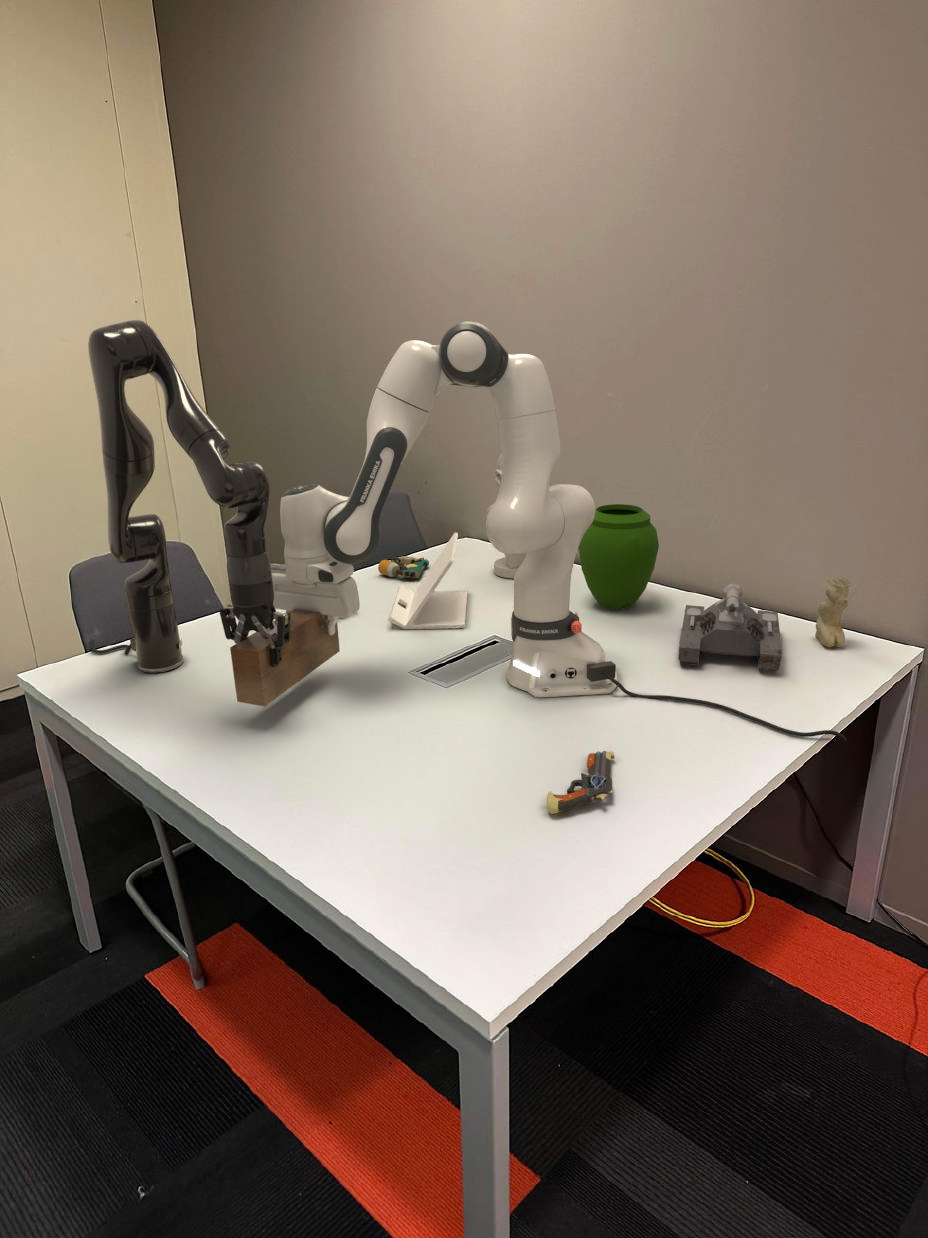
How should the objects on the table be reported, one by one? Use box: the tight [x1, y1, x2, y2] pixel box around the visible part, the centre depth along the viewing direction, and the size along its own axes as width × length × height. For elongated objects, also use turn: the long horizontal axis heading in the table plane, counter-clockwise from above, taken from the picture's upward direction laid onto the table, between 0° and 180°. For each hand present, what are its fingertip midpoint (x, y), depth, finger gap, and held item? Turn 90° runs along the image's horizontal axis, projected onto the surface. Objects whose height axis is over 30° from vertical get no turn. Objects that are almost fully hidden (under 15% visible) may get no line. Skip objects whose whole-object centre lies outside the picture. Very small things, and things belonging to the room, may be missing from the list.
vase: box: [578, 503, 660, 610], centre depth 210 cm, size 20×20×24 cm
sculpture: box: [814, 576, 852, 648], centre depth 185 cm, size 6×7×15 cm
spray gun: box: [377, 555, 430, 579], centre depth 244 cm, size 4×17×15 cm
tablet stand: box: [388, 531, 468, 630], centre depth 211 cm, size 18×25×17 cm
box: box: [229, 609, 340, 707], centre depth 165 cm, size 27×6×11 cm, turn 158°
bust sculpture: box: [485, 453, 527, 579], centre depth 231 cm, size 16×24×35 cm
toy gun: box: [546, 750, 616, 814], centre depth 135 cm, size 3×19×10 cm
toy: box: [677, 583, 783, 672], centre depth 183 cm, size 25×20×15 cm
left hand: (260, 663), depth 157 cm, fingers closed on box, 6 cm apart
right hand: (314, 632), depth 173 cm, fingers closed on box, 6 cm apart
